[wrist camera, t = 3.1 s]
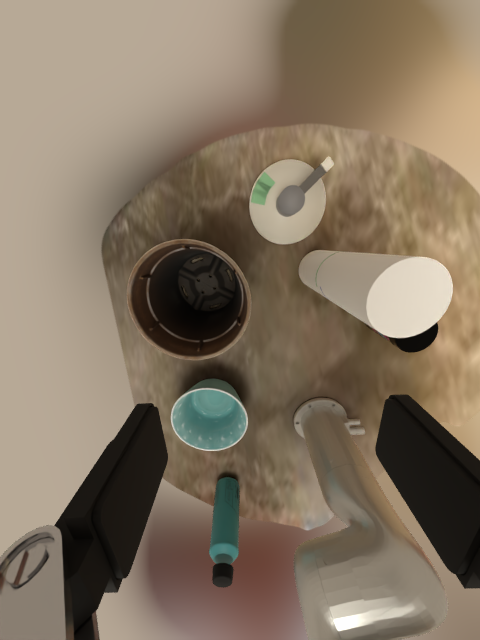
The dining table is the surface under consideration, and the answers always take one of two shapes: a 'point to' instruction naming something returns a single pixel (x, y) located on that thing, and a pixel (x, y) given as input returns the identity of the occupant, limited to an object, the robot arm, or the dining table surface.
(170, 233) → the dining table surface
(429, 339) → the supplement container
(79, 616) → the robot arm
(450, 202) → the dining table surface
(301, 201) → the friction peg
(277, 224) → the dial plate
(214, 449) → the bowl
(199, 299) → the plant pot
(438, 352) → the dining table surface
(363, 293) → the cylindrical container
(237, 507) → the beverage bottle
